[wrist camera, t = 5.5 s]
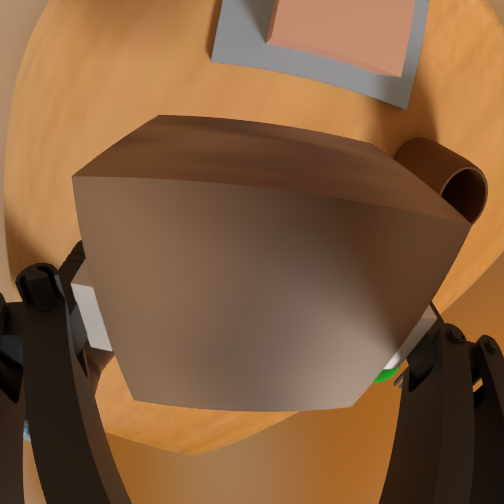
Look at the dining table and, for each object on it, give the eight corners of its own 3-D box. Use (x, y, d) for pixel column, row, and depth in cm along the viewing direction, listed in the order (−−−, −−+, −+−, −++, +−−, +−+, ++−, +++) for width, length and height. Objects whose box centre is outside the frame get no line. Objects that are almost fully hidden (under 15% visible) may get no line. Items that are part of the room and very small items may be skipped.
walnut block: (161, 285, 16) (133, 400, 10) (158, 115, 10) (71, 176, 5) (321, 297, 17) (351, 406, 11) (371, 143, 11) (472, 224, 6)
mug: (402, 231, 35) (437, 277, 27) (360, 208, 33) (393, 255, 25) (450, 156, 29) (498, 188, 21) (410, 123, 27) (462, 148, 19)
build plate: (212, 62, 23) (205, 58, 18) (241, -69, 14) (242, -96, 9) (401, 108, 26) (433, 120, 20) (424, -10, 17) (457, -17, 12)
